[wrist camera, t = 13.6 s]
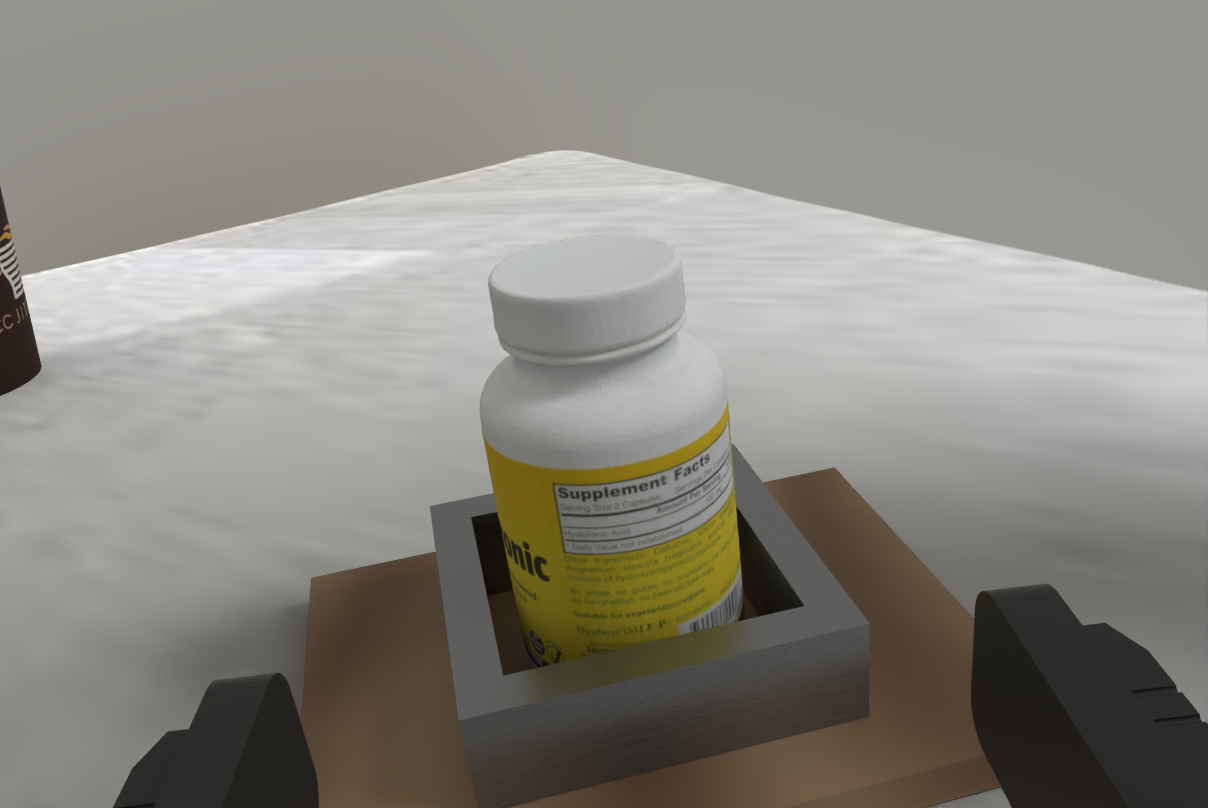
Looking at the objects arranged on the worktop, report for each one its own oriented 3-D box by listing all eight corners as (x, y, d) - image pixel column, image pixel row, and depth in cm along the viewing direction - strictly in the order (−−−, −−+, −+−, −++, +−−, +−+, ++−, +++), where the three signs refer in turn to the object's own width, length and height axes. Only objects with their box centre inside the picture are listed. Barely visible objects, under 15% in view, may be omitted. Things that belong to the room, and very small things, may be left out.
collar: (738, 520, 30) (733, 444, 29) (869, 717, 22) (869, 623, 21) (446, 584, 28) (430, 506, 27) (479, 814, 21) (458, 720, 20)
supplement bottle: (525, 593, 28) (462, 241, 23) (725, 566, 28) (698, 210, 24) (524, 737, 23) (444, 324, 19) (767, 704, 23) (742, 285, 19)
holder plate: (835, 495, 32) (834, 467, 32) (1072, 767, 22) (1076, 731, 21) (319, 606, 30) (311, 577, 29) (299, 974, 19) (286, 938, 19)
